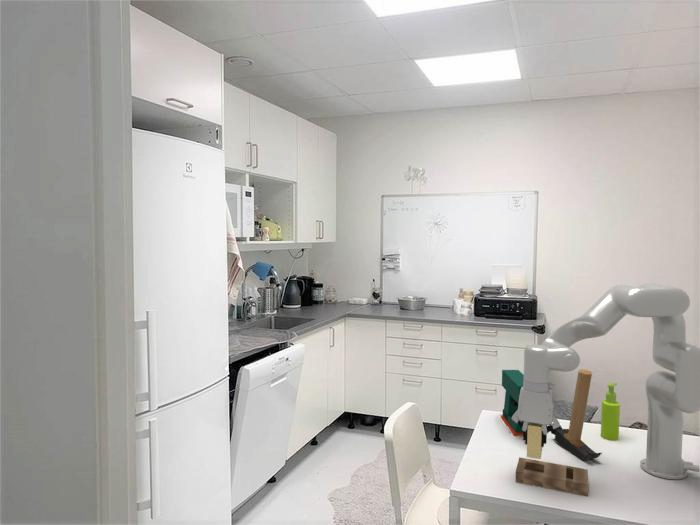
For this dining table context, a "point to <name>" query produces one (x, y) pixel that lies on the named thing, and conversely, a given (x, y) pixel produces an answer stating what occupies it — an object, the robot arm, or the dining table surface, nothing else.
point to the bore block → (552, 476)
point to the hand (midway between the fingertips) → (534, 443)
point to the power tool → (512, 398)
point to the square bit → (534, 440)
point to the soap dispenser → (610, 415)
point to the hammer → (577, 421)
